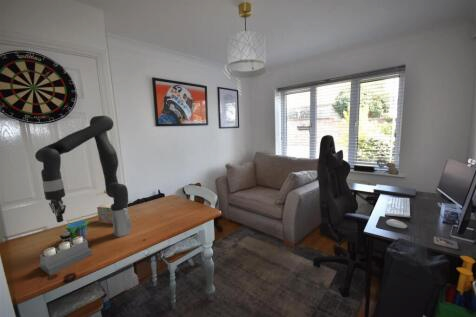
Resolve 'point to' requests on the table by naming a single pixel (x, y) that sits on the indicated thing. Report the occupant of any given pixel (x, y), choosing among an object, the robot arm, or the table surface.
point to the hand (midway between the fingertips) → (60, 221)
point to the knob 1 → (49, 252)
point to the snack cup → (77, 229)
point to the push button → (66, 236)
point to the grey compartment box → (64, 257)
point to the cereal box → (105, 213)
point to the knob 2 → (77, 240)
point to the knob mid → (64, 246)
